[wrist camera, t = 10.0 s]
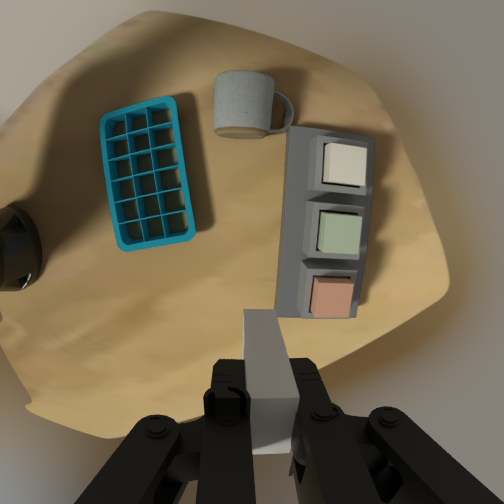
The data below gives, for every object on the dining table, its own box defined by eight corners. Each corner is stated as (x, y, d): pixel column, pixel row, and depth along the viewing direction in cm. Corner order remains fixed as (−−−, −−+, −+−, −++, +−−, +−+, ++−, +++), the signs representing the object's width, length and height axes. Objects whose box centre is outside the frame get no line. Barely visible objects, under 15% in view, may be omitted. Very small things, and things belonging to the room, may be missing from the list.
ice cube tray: (126, 248, 42) (119, 253, 39) (106, 119, 38) (98, 116, 35) (200, 235, 42) (197, 239, 39) (179, 99, 38) (174, 93, 35)
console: (274, 308, 44) (279, 330, 37) (286, 129, 39) (295, 118, 32) (349, 309, 45) (365, 329, 38) (366, 140, 39) (387, 133, 32)
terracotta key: (307, 303, 39) (314, 317, 35) (310, 272, 38) (319, 282, 34) (337, 304, 39) (348, 317, 35) (342, 273, 38) (353, 283, 34)
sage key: (313, 244, 38) (322, 252, 33) (316, 210, 37) (326, 213, 32) (345, 246, 38) (358, 254, 33) (349, 213, 37) (362, 216, 32)
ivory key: (318, 181, 36) (328, 181, 31) (320, 147, 35) (330, 142, 31) (351, 185, 36) (364, 185, 32) (353, 152, 35) (366, 148, 31)
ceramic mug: (214, 140, 39) (209, 130, 31) (217, 86, 37) (213, 66, 30) (291, 144, 39) (302, 135, 32) (292, 90, 38) (303, 71, 30)
